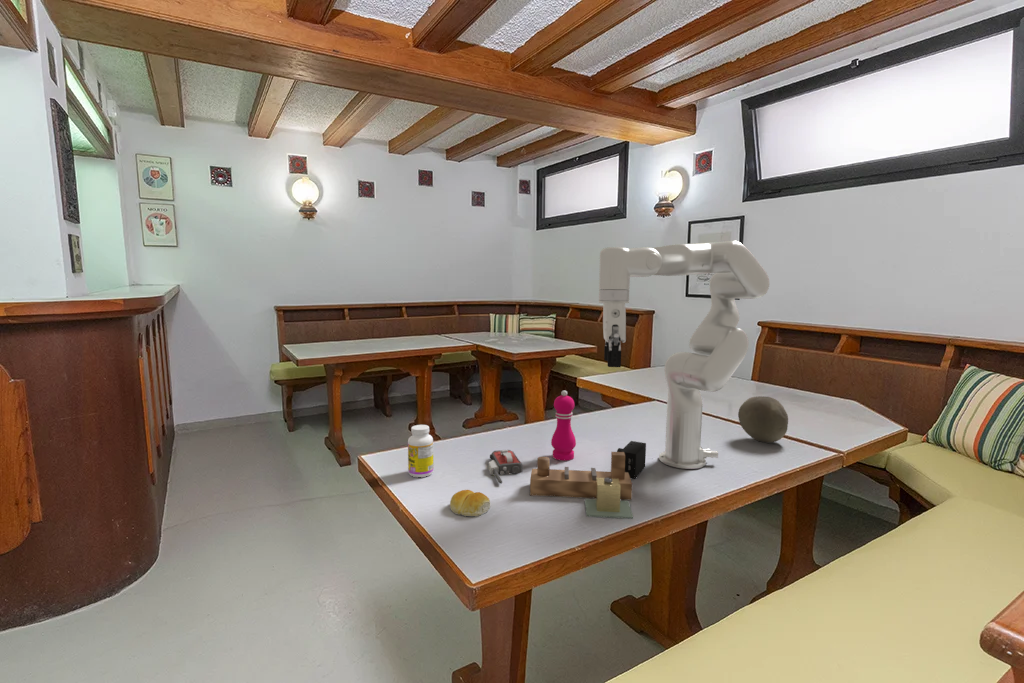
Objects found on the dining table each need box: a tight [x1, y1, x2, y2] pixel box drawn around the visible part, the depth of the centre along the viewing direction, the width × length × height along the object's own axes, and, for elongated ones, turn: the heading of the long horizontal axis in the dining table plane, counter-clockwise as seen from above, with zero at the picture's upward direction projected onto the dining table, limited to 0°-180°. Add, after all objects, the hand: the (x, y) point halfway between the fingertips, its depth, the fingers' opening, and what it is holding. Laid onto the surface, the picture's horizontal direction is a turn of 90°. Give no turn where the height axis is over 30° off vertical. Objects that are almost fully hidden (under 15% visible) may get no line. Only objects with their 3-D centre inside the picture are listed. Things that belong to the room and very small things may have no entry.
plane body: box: [529, 451, 633, 501], centre depth 120 cm, size 24×7×10 cm, turn 84°
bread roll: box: [449, 489, 491, 517], centre depth 111 cm, size 8×9×4 cm
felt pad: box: [584, 498, 634, 520], centre depth 111 cm, size 10×8×1 cm
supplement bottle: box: [407, 424, 434, 478], centre depth 131 cm, size 7×7×13 cm
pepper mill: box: [550, 390, 577, 461], centre depth 143 cm, size 7×7×20 cm
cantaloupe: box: [737, 395, 789, 444], centre depth 158 cm, size 14×14×15 cm
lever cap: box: [595, 478, 621, 512], centre depth 111 cm, size 5×4×7 cm
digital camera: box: [616, 440, 647, 480], centre depth 133 cm, size 10×5×7 cm, turn 151°
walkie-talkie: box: [488, 449, 523, 484], centre depth 134 cm, size 9×4×20 cm
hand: (612, 363), depth 126 cm, fingers open, 9 cm apart
